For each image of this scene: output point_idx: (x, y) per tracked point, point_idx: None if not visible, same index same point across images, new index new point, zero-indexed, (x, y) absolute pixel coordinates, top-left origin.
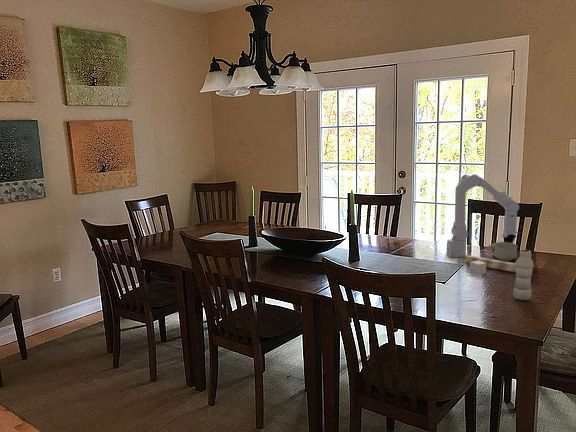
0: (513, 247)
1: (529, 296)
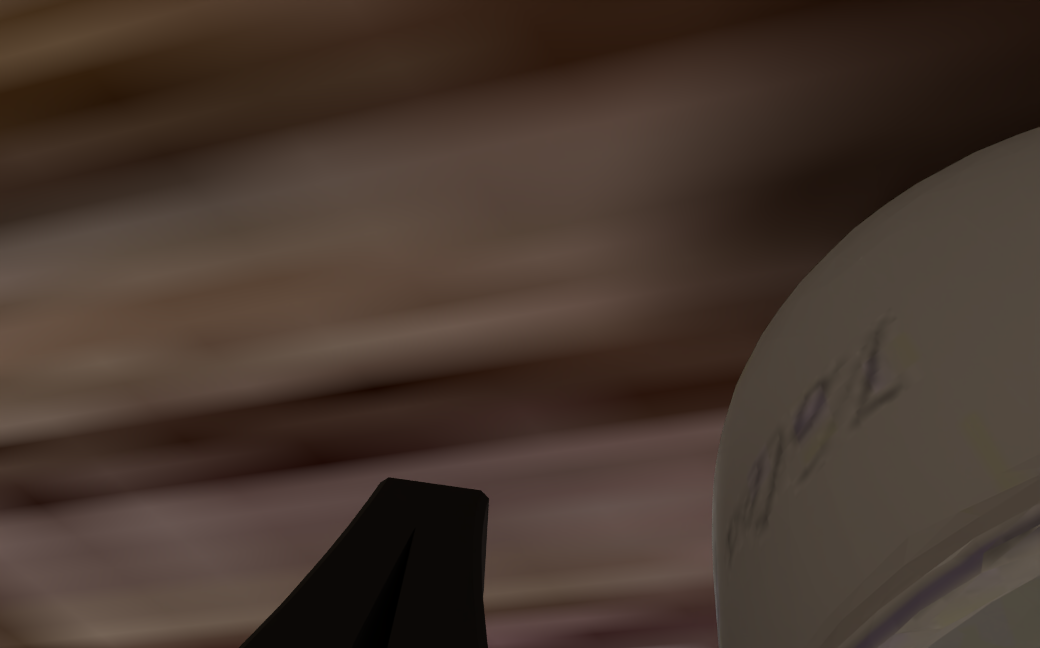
0: (904, 461)
1: None
